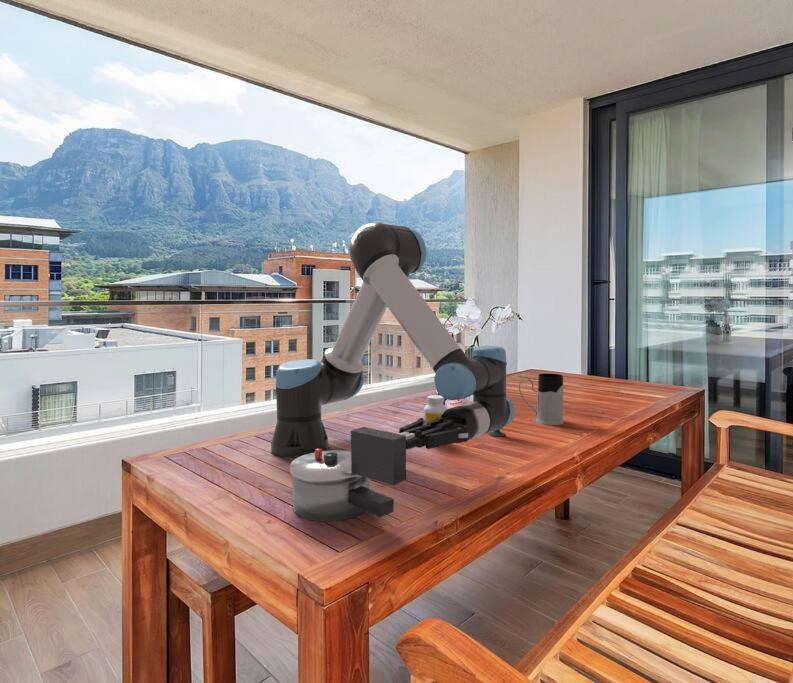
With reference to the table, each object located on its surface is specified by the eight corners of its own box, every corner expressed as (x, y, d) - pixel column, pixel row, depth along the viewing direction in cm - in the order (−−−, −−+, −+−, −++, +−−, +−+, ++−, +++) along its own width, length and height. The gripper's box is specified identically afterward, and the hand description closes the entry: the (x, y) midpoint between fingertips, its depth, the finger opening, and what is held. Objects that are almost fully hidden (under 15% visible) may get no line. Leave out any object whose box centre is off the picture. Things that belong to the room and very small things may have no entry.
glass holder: (563, 426, 157) (564, 378, 156) (516, 422, 162) (517, 375, 161) (564, 419, 166) (565, 373, 164) (519, 416, 170) (520, 371, 169)
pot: (270, 500, 103) (269, 466, 102) (330, 480, 113) (329, 450, 113) (354, 546, 84) (353, 505, 83) (416, 517, 94) (416, 481, 94)
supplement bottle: (450, 444, 139) (450, 398, 138) (426, 446, 138) (426, 399, 137) (444, 438, 146) (444, 393, 144) (421, 439, 145) (421, 394, 143)
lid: (273, 471, 99) (272, 424, 98) (331, 451, 111) (330, 409, 110) (370, 503, 83) (369, 448, 82) (425, 476, 95) (425, 428, 94)
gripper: (491, 445, 106) (414, 476, 89) (439, 433, 115) (361, 458, 98) (491, 410, 105) (414, 434, 88) (439, 401, 114) (360, 420, 98)
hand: (386, 447), depth 93 cm, fingers closed
